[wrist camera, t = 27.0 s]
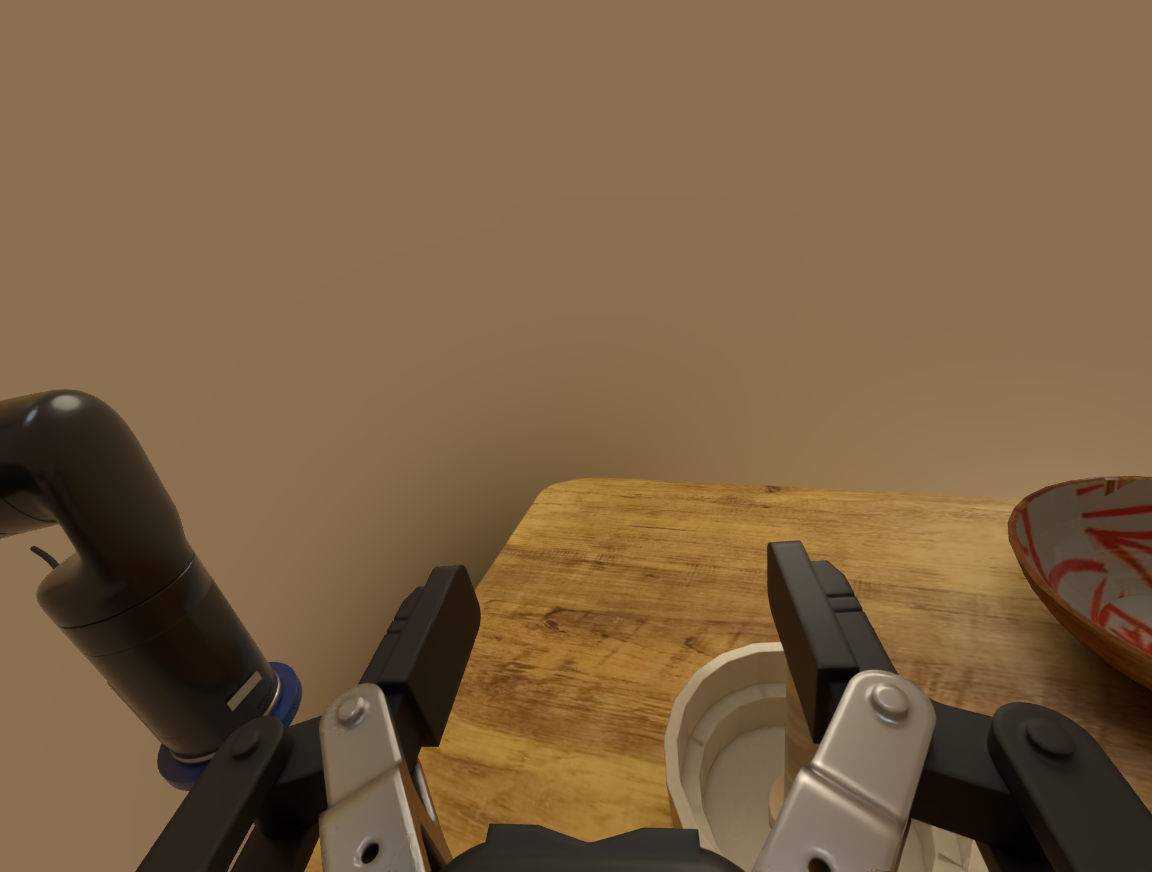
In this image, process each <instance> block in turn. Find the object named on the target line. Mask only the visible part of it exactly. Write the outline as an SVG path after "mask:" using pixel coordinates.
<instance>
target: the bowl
mask: <svg viewBox="0 0 1152 872" xmlns="http://www.w3.org/2000/svg"><path fill="white" fill-rule="evenodd" d="M1008 535H1009V542H1010V544H1011V546H1012V549H1013V551H1014V553H1015V555H1016V558H1017V560H1018V562H1019V564H1020V566H1021V569H1022V571H1023V573H1024V575H1025V577H1026V579H1027V580H1028V582H1029V584H1030V586H1031V588H1032V589H1033V590H1034V592H1035V593H1036V594H1037V595H1038V597H1039V598H1040V599H1041V601H1042V602H1043V603H1044V604H1045V606H1046V607H1047V608H1048V610H1049V611H1050V612H1051V613H1052V614H1053V615H1054V617H1055V618H1056V619H1057V620H1058V621H1059V622H1060V623H1061V624H1062V625H1063V626H1064V627H1065V628H1066V629H1067V630H1068V631H1069V632H1070V633H1071V634H1072V635H1074V636H1075V637H1076V638H1077V639H1078V640H1079V641H1080V642H1081V643H1082V644H1083V645H1085V646H1086V647H1087V648H1088V649H1090V650H1091V651H1092V652H1093V653H1095V654H1096V655H1097V656H1099V657H1100V658H1101V659H1103V660H1104V661H1105V662H1107V663H1108V664H1110V665H1111V666H1112V667H1114V668H1115V669H1116V670H1118V671H1119V672H1121V673H1122V674H1123V675H1125V676H1127V677H1128V678H1130V679H1132V680H1133V681H1135V682H1137V683H1138V684H1140V685H1142V686H1144V687H1145V688H1147V689H1149V690H1150V691H1152V477H1140V476H1121V477H1120V476H1119V477H1095V478H1087V479H1079V480H1071V481H1067V482H1063V483H1059V484H1055V485H1051V486H1048V487H1045V488H1043V489H1040V490H1038V491H1037V492H1034V493H1032V494H1030V495H1028V496H1027V497H1025V498H1024V499H1023V500H1022V501H1021V502H1020V503H1019V504H1018V505H1017V506H1016V507H1015V508H1014V509H1013V511H1012V514H1011V516H1010V518H1009V521H1008Z"/></svg>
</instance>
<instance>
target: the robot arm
mask: <svg viewBox="0 0 1152 872" xmlns="http://www.w3.org/2000/svg"><path fill="white" fill-rule="evenodd" d="M57 524H60V526H61V527H62V528H63V530H64V531H65V533H66V534H67V536H68V538H69V539H70V541H71V542H72V544H73V546H74V547H75V549H76V553H75V554H73V555H72V556H70V557H69V558H68V559H66V560H65V561H63V562H62V563H61V564H58V563H57V561H56V560H55V559H54V558H53V557H51V556H50V555H49V554H48V553H46V552H45V551H43V550H41V549H40V548H38V547H36V546H33V547H31V551H33V552H35V553H36V554H37V555H39V556H40V557H42V558H43V559H44V560H45V561H47V562H48V563H49V564H50V566H51V567H52V568H53V569H54V570H52V571H51V572H50V573H49V574H48V575H47V577H46V578H45V579H44V580H43V581H42V582H41V584H40V585H39V587H38V590H37V594H36V595H37V601H38V603H39V605H40V607H41V608H42V609H43V610H44V611H45V613H46V614H47V615H48V616H49V617H50V618H51V619H52V620H53V621H54V623H55V624H56V625H57V626H58V627H59V628H60V629H61V630H62V632H63V633H64V634H65V635H66V636H67V637H68V638H69V639H70V640H71V641H72V643H73V644H74V645H75V646H76V647H77V648H78V649H79V650H80V651H81V652H82V653H83V654H84V655H85V657H86V658H87V659H88V660H89V661H90V662H91V663H92V664H93V665H94V667H95V668H96V669H97V670H98V671H99V672H100V673H101V674H102V675H103V677H104V678H105V679H106V680H107V682H108V685H109V686H110V687H111V688H112V689H113V690H114V691H115V692H116V693H117V694H118V696H119V697H120V698H121V699H122V700H123V701H124V702H125V703H126V704H127V706H128V707H129V708H130V709H131V710H132V711H133V712H134V713H135V714H136V716H137V717H138V718H139V719H140V720H141V721H142V722H143V723H144V724H145V725H146V727H147V728H148V729H149V730H150V731H151V732H152V733H153V734H154V735H155V736H156V738H157V739H158V740H159V741H160V742H161V743H162V744H163V745H164V746H165V748H168V749H169V751H170V753H171V755H172V756H173V757H174V758H175V759H176V760H177V761H178V762H179V763H180V764H182V765H185V766H202V765H206V764H208V765H207V766H206V768H205V769H204V771H203V772H202V774H201V775H200V777H199V778H198V780H197V781H196V783H195V784H194V786H193V787H192V789H191V790H190V792H189V793H188V795H187V796H186V798H185V799H184V801H183V802H182V804H181V805H180V807H179V808H178V809H177V811H176V812H175V814H174V815H173V817H172V818H171V820H170V821H169V823H168V824H167V826H166V827H165V829H164V830H163V832H162V833H161V835H160V836H159V838H158V839H157V841H156V842H155V843H154V845H153V846H152V848H151V849H150V851H149V853H148V854H147V855H146V857H145V858H144V860H143V861H142V863H141V864H140V866H139V867H138V869H137V870H136V872H227V871H228V869H229V866H230V864H231V862H232V860H233V858H234V857H235V855H236V853H237V851H238V849H239V847H240V845H241V844H242V842H243V840H244V838H245V836H246V835H247V833H248V831H249V829H250V827H251V825H252V824H253V823H254V824H255V827H254V829H253V831H252V832H251V834H250V836H249V838H248V840H247V842H246V844H245V845H244V847H243V849H242V851H241V853H240V855H239V857H238V858H237V860H236V862H235V864H234V866H233V868H232V870H231V871H230V872H304V871H305V869H306V866H307V864H308V862H309V860H310V857H311V855H312V853H313V850H314V848H315V846H316V843H317V841H318V839H319V836H320V845H321V855H322V866H323V872H745V871H744V870H743V869H742V868H740V867H739V866H737V865H736V864H734V863H733V862H731V861H730V860H728V859H727V858H725V857H723V856H721V855H719V854H717V853H715V852H713V851H711V850H708V849H705V848H702V847H700V839H699V831H698V829H678V828H641V829H638V830H634V831H631V832H627V833H624V834H620V835H617V836H613V837H610V838H606V839H603V840H599V841H596V842H584V841H581V840H578V839H575V838H573V837H570V836H567V835H564V834H562V833H559V832H556V831H553V830H551V829H548V828H545V827H542V826H540V825H523V824H489V828H488V833H487V838H486V842H485V843H481V844H479V845H477V846H475V847H472V848H470V849H468V850H467V851H465V852H463V853H462V854H460V855H458V856H457V857H456V858H454V859H453V858H452V855H451V853H450V851H449V848H448V846H447V844H446V841H445V838H444V836H443V833H442V830H441V826H440V823H439V820H438V817H437V813H436V810H435V807H434V804H433V800H432V797H431V794H430V791H429V787H428V784H427V781H426V778H425V774H424V771H423V768H422V765H421V762H420V760H419V759H418V754H419V752H420V749H421V747H439V744H440V741H441V738H442V735H443V732H444V729H445V726H446V724H447V721H448V718H449V715H450V712H451V709H452V706H453V703H454V700H455V697H456V694H457V691H458V688H459V686H460V683H461V680H462V677H463V674H464V671H465V668H466V665H467V662H468V659H469V656H470V653H471V650H472V648H473V645H474V642H475V639H476V636H477V633H478V630H479V626H480V619H481V613H480V606H479V602H478V600H477V597H476V594H475V591H474V589H473V586H472V583H471V580H470V577H469V575H468V572H467V569H466V568H465V567H464V566H463V565H454V566H440V567H435V568H434V569H433V571H432V573H431V575H430V576H429V578H428V580H427V582H426V585H425V586H424V587H417V588H416V589H415V590H414V591H413V592H412V593H411V594H410V595H409V596H408V597H407V598H406V599H405V600H404V601H403V603H402V604H401V606H400V608H399V610H398V612H397V614H396V615H395V617H394V621H392V623H391V625H390V626H389V628H388V630H387V635H385V636H384V638H383V639H382V641H381V643H380V645H379V647H378V649H377V651H376V652H375V654H374V656H373V658H372V660H371V662H370V663H369V665H368V667H367V669H366V671H365V672H364V674H363V676H362V678H361V680H360V682H359V683H358V685H356V686H354V687H351V688H349V689H347V690H346V691H344V692H343V693H341V694H340V695H339V696H337V697H336V698H335V699H334V700H333V701H332V702H331V703H330V705H329V706H328V707H327V709H326V710H325V712H324V713H323V715H322V716H319V717H317V718H313V719H310V720H307V721H305V722H302V723H298V724H296V725H292V726H289V727H286V728H285V726H284V725H283V724H282V722H281V721H280V720H279V718H277V717H275V716H273V714H274V713H275V711H276V709H277V707H278V706H279V703H280V701H281V698H282V694H283V683H282V680H281V679H280V677H279V676H278V674H277V673H276V672H275V671H274V670H273V669H272V668H271V666H270V665H269V663H268V662H267V660H266V659H265V657H264V655H263V654H262V652H261V651H260V649H259V648H258V646H257V645H256V643H255V642H254V640H253V639H252V637H251V636H250V634H249V633H248V631H247V630H246V628H245V627H244V625H243V624H242V622H241V621H240V619H239V618H238V616H237V615H236V613H235V612H234V610H233V609H232V607H231V606H230V604H229V603H228V601H227V600H226V598H225V597H224V595H223V594H222V592H221V591H220V589H219V588H218V586H217V585H216V583H215V582H214V580H213V579H212V577H211V576H210V574H209V573H208V571H207V570H206V569H205V567H204V565H203V564H202V562H201V561H200V559H199V558H198V556H197V555H196V553H195V552H194V551H193V549H192V548H191V546H190V545H189V543H188V541H187V540H186V537H185V534H184V531H183V527H182V523H181V519H180V516H179V513H178V511H177V509H176V506H175V505H174V503H173V501H172V500H171V498H170V496H169V494H168V493H167V491H166V489H165V488H164V486H163V484H162V482H161V480H160V479H159V477H158V475H157V473H156V472H155V470H154V468H153V466H152V464H151V462H150V461H149V459H148V457H147V455H146V454H145V452H144V450H143V448H142V446H141V445H140V443H139V441H138V440H137V438H136V436H135V435H134V433H133V432H132V431H131V429H130V428H129V426H128V425H127V424H126V422H125V421H124V420H123V419H122V418H121V417H120V415H118V413H117V412H116V411H115V410H113V409H112V408H111V407H110V406H109V405H107V404H106V403H105V402H103V401H102V400H100V399H98V398H97V397H95V396H92V395H90V394H88V393H85V392H82V391H77V390H68V389H64V390H52V391H46V392H40V393H36V394H31V395H26V396H21V397H17V398H12V399H7V400H3V401H0V539H1V538H5V537H9V536H12V535H16V534H20V533H25V532H28V531H32V530H37V529H41V528H45V527H49V526H53V525H57ZM767 587H768V598H769V604H770V609H771V613H772V616H773V619H774V622H775V625H776V628H777V632H778V635H779V638H780V641H781V644H782V647H783V650H784V653H785V656H786V660H787V663H788V666H789V669H790V672H791V675H792V678H793V681H794V685H795V688H796V691H797V694H798V697H799V700H800V703H801V706H802V709H803V713H804V716H805V719H806V722H807V725H808V728H809V731H810V734H811V738H812V741H813V744H820V745H819V747H818V750H817V752H816V754H815V756H814V758H813V760H812V762H811V763H810V765H804V766H803V767H802V768H801V770H800V771H799V773H798V774H797V776H796V778H795V780H794V782H793V785H792V787H791V789H790V791H789V793H788V795H787V797H786V799H785V801H784V803H783V805H782V808H781V810H780V812H779V814H778V816H777V818H776V820H775V822H774V824H773V826H772V829H771V831H770V833H769V835H768V837H767V839H766V841H765V843H764V845H763V847H762V850H761V852H760V854H759V856H758V858H757V860H756V862H755V864H754V866H753V868H752V871H751V872H897V871H898V868H899V864H900V861H901V857H902V854H903V850H904V847H905V844H906V840H907V837H908V833H909V830H910V826H911V823H912V820H913V819H915V820H918V821H920V822H923V823H926V824H929V825H932V826H935V827H938V828H941V829H944V830H947V831H949V832H952V833H955V834H958V835H961V836H964V837H967V838H970V839H973V840H975V842H976V845H977V847H978V849H979V851H980V853H981V855H982V858H983V860H984V862H985V864H986V866H987V868H988V871H989V872H1152V814H1151V813H1150V811H1149V810H1148V809H1147V807H1146V806H1145V805H1144V803H1143V802H1142V801H1141V799H1140V798H1139V797H1138V795H1137V794H1136V793H1135V791H1134V790H1133V789H1132V788H1131V786H1130V785H1129V784H1128V782H1127V781H1126V780H1125V778H1124V777H1123V776H1122V774H1121V773H1120V772H1119V770H1118V769H1117V768H1116V766H1115V765H1114V764H1113V762H1112V761H1111V760H1110V758H1109V757H1108V756H1107V754H1106V753H1105V752H1104V750H1103V749H1102V748H1101V746H1100V745H1099V744H1098V743H1097V742H1096V740H1095V739H1094V738H1093V737H1092V736H1091V735H1090V734H1089V733H1088V732H1087V731H1086V730H1084V729H1083V728H1082V727H1081V726H1079V725H1078V724H1077V723H1075V722H1074V721H1072V720H1071V719H1069V718H1068V717H1066V716H1064V715H1062V714H1060V713H1058V712H1056V711H1054V710H1051V709H1049V708H1046V707H1043V706H1040V705H1036V704H1031V703H1023V702H1016V703H1009V704H1006V705H1003V706H1001V707H1000V708H999V709H998V710H997V711H996V712H995V714H994V716H993V717H991V716H987V715H983V714H979V713H975V712H971V711H967V710H963V709H959V708H955V707H951V706H947V705H944V704H941V703H938V702H936V701H934V700H931V699H929V698H928V697H927V696H926V694H925V693H924V692H923V691H922V690H921V689H920V688H918V687H917V686H916V685H915V684H914V683H912V682H910V681H909V680H907V679H905V678H904V677H902V676H900V675H899V674H898V673H897V671H896V670H895V668H894V666H893V665H892V663H891V661H890V659H889V657H888V655H887V653H886V652H885V650H884V648H883V646H882V644H881V642H880V640H879V638H878V637H877V635H876V633H875V631H874V629H873V627H872V625H871V624H870V622H869V620H868V618H867V616H866V614H865V612H863V611H862V607H861V605H860V603H859V601H858V599H857V597H855V595H854V592H853V590H852V588H851V586H850V584H849V583H848V581H847V579H846V577H845V575H844V574H843V573H841V572H840V571H839V570H838V569H837V568H835V567H834V566H833V565H832V564H831V563H830V562H828V561H827V560H825V561H810V559H809V557H808V555H807V552H806V550H805V548H804V546H803V544H802V542H801V541H784V542H770V543H768V546H767Z"/></svg>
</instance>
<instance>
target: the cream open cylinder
mask: <svg viewBox="0 0 1152 872" xmlns="http://www.w3.org/2000/svg"><path fill="white" fill-rule="evenodd" d="M786 665H787V660H786V656H785V653H784V650H783V647H782V644H781V642H776V643H754V644H751V645H747V646H744V647H741V648H738V649H735V650H732V651H729V652H725V653H722V654H720V655H719V656H717V657H716V658H715V659H713V660H712V661H710V662H709V663H708V664H706V665H705V666H703V667H702V668H701V669H699V670H698V671H696V672H695V673H694V674H693V676H692V677H691V678H690V680H689V681H688V683H687V684H686V686H685V687H684V689H683V690H682V691H681V693H680V694H679V696H678V697H677V699H676V700H675V702H674V704H673V708H672V712H671V715H670V719H669V723H668V726H667V730H666V734H665V738H664V747H665V765H666V782H667V789H668V795H669V801H670V807H671V813H672V819H673V825H674V828H678V829H698V831H699V839H700V847H702V848H705V849H708V850H711V851H713V852H715V853H717V854H719V855H721V856H723V857H725V858H727V859H728V860H730V861H731V862H733V863H734V864H736V865H737V866H739V867H740V868H742V869H743V870H744V871H745V872H751V871H752V868H753V866H754V864H755V862H756V860H757V858H758V856H759V854H760V852H761V850H762V847H763V845H764V843H765V841H766V839H767V837H768V835H769V833H770V831H771V828H770V824H769V792H770V789H771V786H772V785H773V783H774V782H775V780H776V779H777V778H779V777H780V776H782V775H784V765H785V715H786ZM897 872H989V871H988V868H987V866H986V864H985V862H984V860H983V858H982V855H981V853H980V851H979V849H978V847H977V845H976V842H975V840H973V839H970V838H967V837H964V836H961V835H958V834H955V833H952V832H949V831H947V830H944V829H941V828H938V827H935V826H932V825H929V824H926V823H923V822H920V821H918V820H915V819H913V820H912V823H911V826H910V830H909V833H908V837H907V840H906V844H905V847H904V850H903V854H902V857H901V861H900V864H899V868H898V871H897Z"/></svg>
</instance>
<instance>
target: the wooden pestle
mask: <svg viewBox="0 0 1152 872" xmlns="http://www.w3.org/2000/svg"><path fill="white" fill-rule="evenodd" d="M819 745H820V744H813V741H812V738H811V734H810V731H809V728H808V725H807V722H806V719H805V716H804V713H803V709H802V706H801V703H800V700H799V697H798V694H797V691H796V688H795V685H794V681H793V678H792V675H791V672H790V669H789V666H788V663H787V665H786V715H785V765H784V775H782V776H780V777H779V778H777V779H776V780H775V782H774V783H773V785H772V786H771V789H770V792H769V824H770V828H771V829H772V826H773V824H774V822H775V820H776V818H777V816H778V814H779V812H780V810H781V808H782V805H783V803H784V801H785V799H786V797H787V795H788V793H789V791H790V789H791V787H792V785H793V782H794V780H795V778H796V776H797V774H798V773H799V771H800V770H801V768H802V767H803V766H804V765H810V763H811V762H812V760H813V758H814V756H815V754H816V752H817V750H818V747H819Z"/></svg>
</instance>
